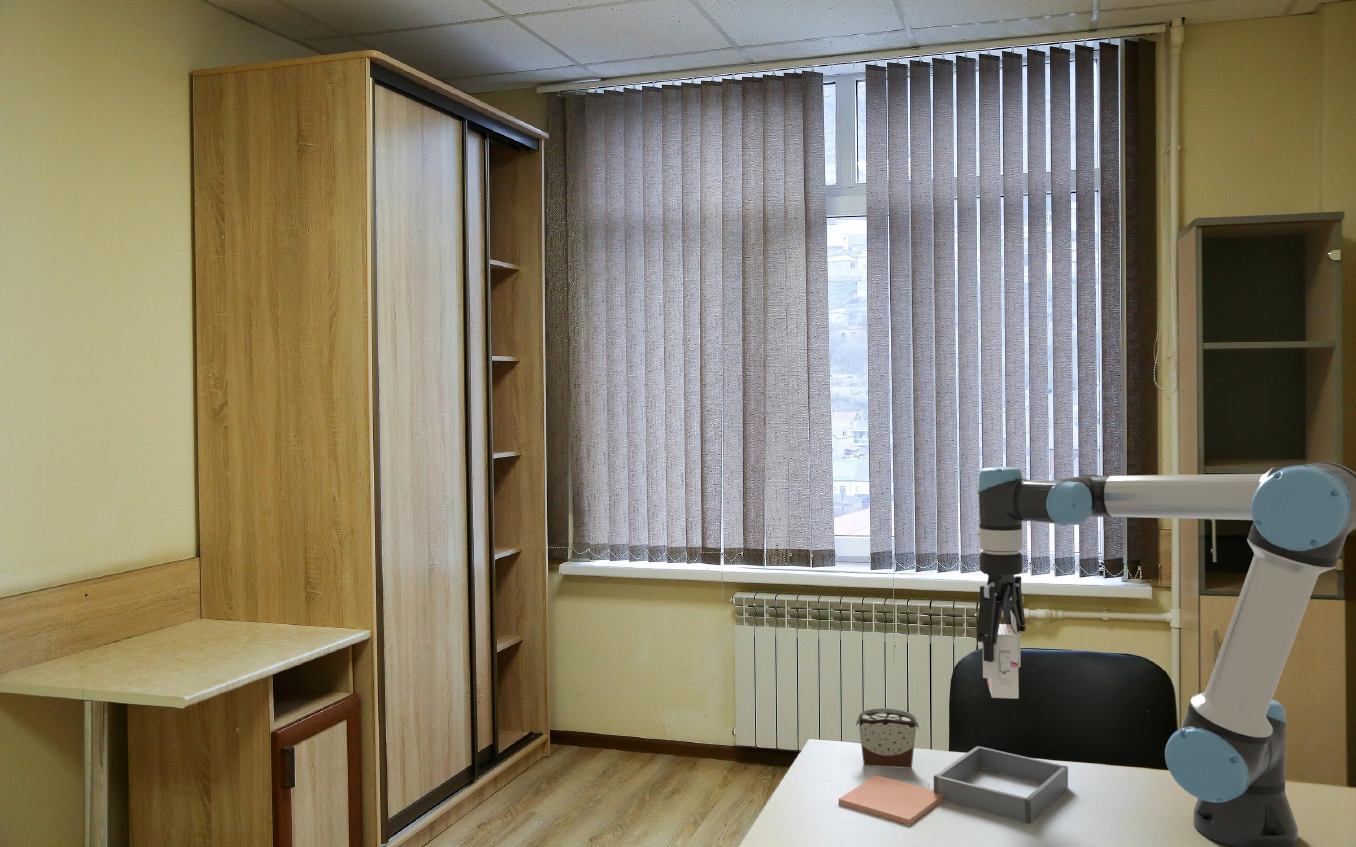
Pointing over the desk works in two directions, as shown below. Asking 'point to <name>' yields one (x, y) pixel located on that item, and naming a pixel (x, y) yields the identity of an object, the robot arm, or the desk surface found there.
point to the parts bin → (998, 801)
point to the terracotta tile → (891, 799)
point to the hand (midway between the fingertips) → (1002, 671)
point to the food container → (887, 737)
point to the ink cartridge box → (1006, 662)
